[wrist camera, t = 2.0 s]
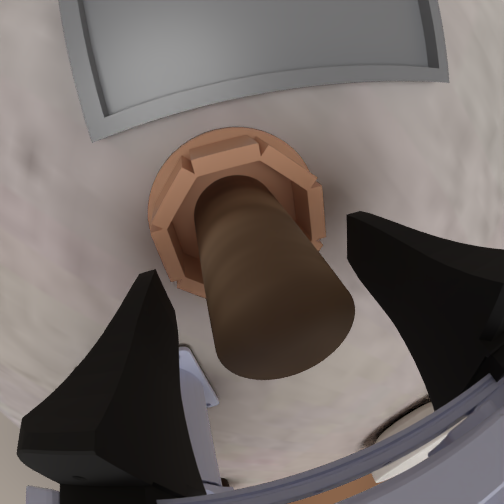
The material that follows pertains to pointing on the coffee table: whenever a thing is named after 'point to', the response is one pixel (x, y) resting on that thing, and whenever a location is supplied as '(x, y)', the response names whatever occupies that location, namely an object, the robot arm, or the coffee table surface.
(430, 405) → the bowl
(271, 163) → the terracotta cup
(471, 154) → the coffee table surface
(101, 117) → the charcoal tray
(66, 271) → the coffee table surface
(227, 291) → the walnut peg
